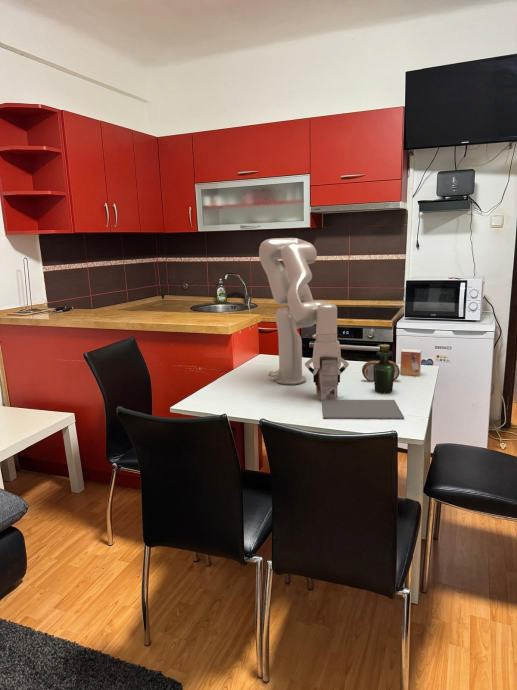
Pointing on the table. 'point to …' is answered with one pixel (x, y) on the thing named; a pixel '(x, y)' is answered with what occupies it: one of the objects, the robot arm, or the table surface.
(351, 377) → the table surface
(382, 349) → the potion bottle
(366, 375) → the tin
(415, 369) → the small box
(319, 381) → the coffee box
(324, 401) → the mat
